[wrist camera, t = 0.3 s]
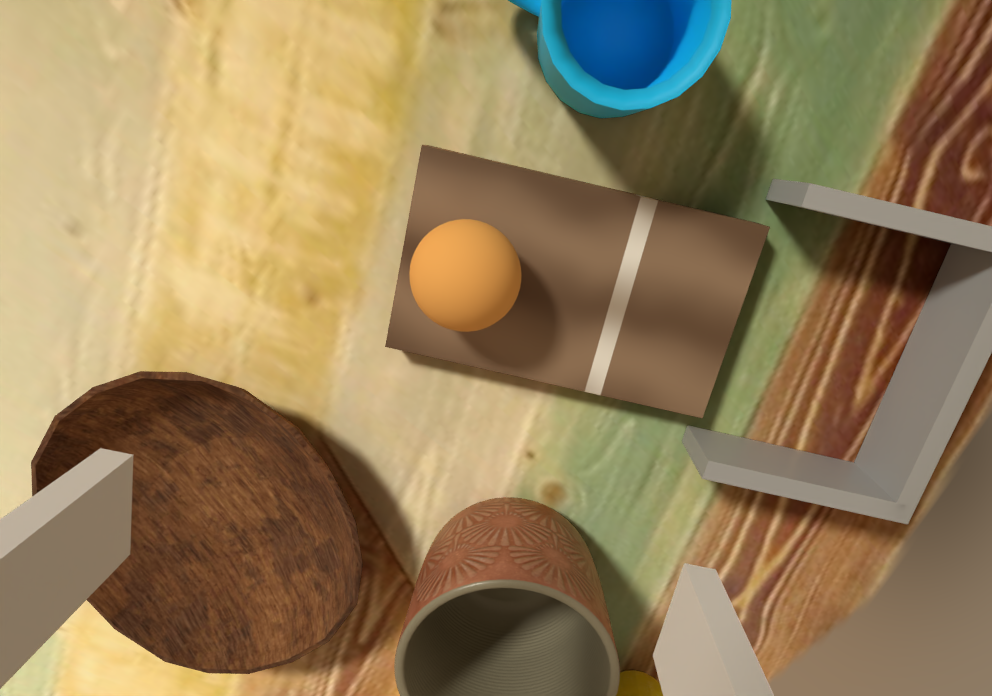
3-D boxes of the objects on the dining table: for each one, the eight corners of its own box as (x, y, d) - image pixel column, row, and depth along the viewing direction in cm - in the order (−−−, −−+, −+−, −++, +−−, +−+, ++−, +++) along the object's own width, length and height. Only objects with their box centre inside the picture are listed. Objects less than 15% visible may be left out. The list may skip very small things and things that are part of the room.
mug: (712, -5, 34) (768, -50, 27) (643, 141, 37) (676, 140, 29) (508, -103, 33) (504, -180, 26) (450, 54, 36) (430, 28, 28)
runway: (426, 145, 37) (421, 144, 35) (757, 223, 38) (769, 227, 36) (391, 337, 41) (385, 346, 39) (694, 405, 41) (702, 418, 39)
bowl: (263, 296, 40) (228, 316, 36) (429, 564, 46) (418, 612, 41) (24, 421, 44) (-36, 455, 39) (206, 657, 49) (172, 712, 44)
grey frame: (772, 178, 37) (810, 183, 32) (979, 227, 37) (1046, 239, 33) (681, 441, 42) (702, 478, 37) (864, 482, 43) (907, 524, 38)
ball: (429, 203, 36) (412, 213, 30) (532, 227, 36) (534, 241, 31) (410, 303, 38) (390, 330, 32) (508, 326, 38) (506, 357, 32)
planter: (549, 449, 43) (558, 546, 32) (626, 589, 46) (657, 719, 35) (391, 521, 45) (351, 633, 34) (474, 650, 48) (461, 789, 37)
